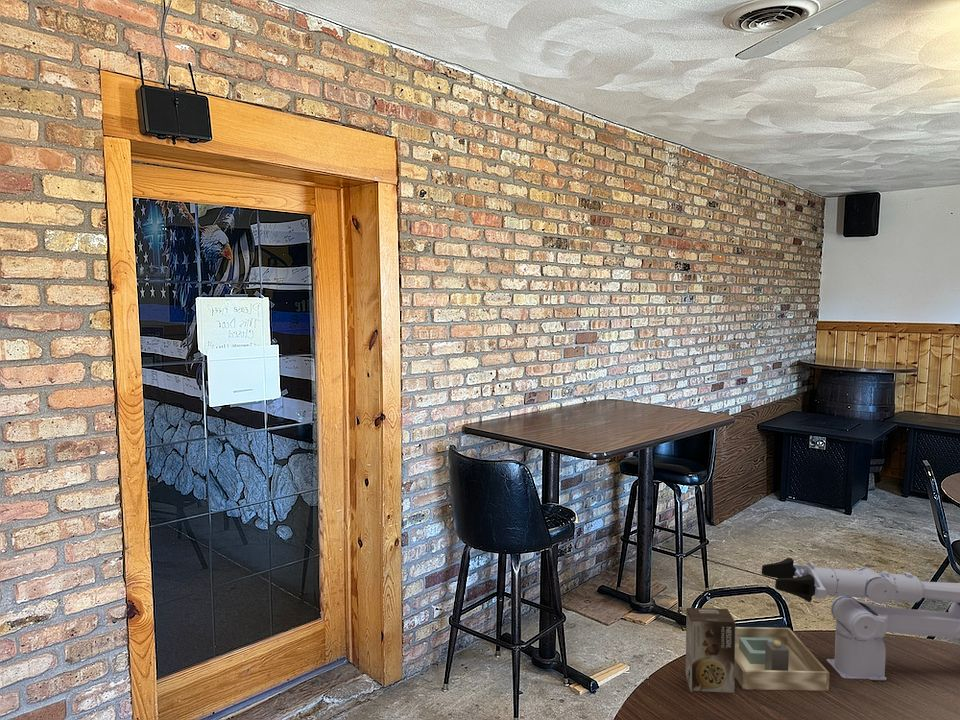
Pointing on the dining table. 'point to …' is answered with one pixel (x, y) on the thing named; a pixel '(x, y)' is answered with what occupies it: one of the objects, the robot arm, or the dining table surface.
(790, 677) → the walled box
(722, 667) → the coffee box
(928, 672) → the dining table surface
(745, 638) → the socket
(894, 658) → the dining table surface
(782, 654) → the plug
